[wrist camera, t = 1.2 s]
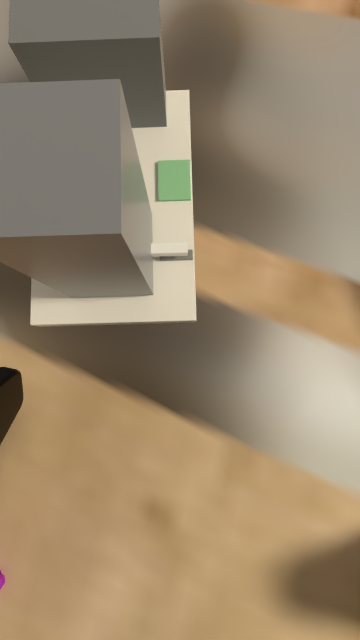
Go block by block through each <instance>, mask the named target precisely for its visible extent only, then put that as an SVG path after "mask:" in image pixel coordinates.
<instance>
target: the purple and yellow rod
mask: <svg viewBox="0 0 360 640" xmlns="http://www.w3.org/2000/svg"><path fill="white" fill-rule="evenodd" d="M4 583H5V578H4V575H3V574H2V573H1V570H0V589H1V588H2V586H3V585H4Z"/></svg>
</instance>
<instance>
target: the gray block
mask: <svg viewBox="0 0 360 640" xmlns="http://www.w3.org/2000/svg"><path fill="white" fill-rule="evenodd" d="M158 256H188V242H178V243H153V234H152V212H151V208H150V203H149V199H148V195H147V191H146V186H145V182H144V178H143V174H142V169H141V165H140V161H139V157H138V153H137V148H136V144H135V140H134V136H133V131H132V127H131V123H130V119H129V114H128V110H127V106H126V102H125V98H124V93H123V89H122V85H121V81H120V79H104V80H77V81H51V82H25V83H0V262H1V263H3V264H5V265H7V266H9V267H11V268H13V269H15V270H17V271H19V272H21V273H23V274H25V275H27V276H29V277H30V278H32V279H34V280H36V281H38V282H40V283H42V284H44V285H46V286H48V287H50V288H52V289H54V290H56V291H58V292H60V293H62V294H64V295H66V296H68V297H70V298H71V297H106V296H141V295H154V291H153V257H158Z"/></svg>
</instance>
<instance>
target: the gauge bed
mask: <svg viewBox="0 0 360 640" xmlns="http://www.w3.org/2000/svg"><path fill="white" fill-rule="evenodd" d="M9 12H10V13H9V41H8V43H9V45H10V47H11V49H12V50H13V52H14V54H15V56H16V57H17V59H18V61H19V63H20V65H21V66H22V68H23V70H24V72H25V73H26V75H27V77H28V79H29V80H30V82H51V81H77V80H104V79H120V81H121V85H122V89H123V93H124V98H125V102H126V106H127V110H128V114H129V119H130V123H131V127H132V131H133V136H134V140H135V144H136V148H137V153H138V157H139V161H140V165H141V169H142V174H143V178H144V182H145V186H146V191H147V195H148V199H149V203H150V208H151V212H152V234H153V243H178V242H188V256H158V257H153V291H154V295H141V296H106V297H71V298H70V297H68V296H66V295H64V294H62V293H60V292H58V291H56V290H54V289H52V288H50V287H48V286H46V285H44V284H42V283H40V282H38V281H36V280H34V279H32V278H31V318H30V325H33V326H38V327H41V326H42V327H43V326H44V327H45V326H79V325H80V326H81V325H113V324H114V325H117V324H150V323H151V324H153V323H187V322H196V294H195V262H194V231H193V199H192V171H191V170H192V169H191V168H192V167H191V139H190V138H191V136H190V104H189V90H178V91H177V90H176V91H166V86H165V73H164V59H163V46H162V32H161V19H160V6H159V0H10V11H9Z"/></svg>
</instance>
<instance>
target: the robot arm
mask: <svg viewBox="0 0 360 640" xmlns="http://www.w3.org/2000/svg"><path fill="white" fill-rule="evenodd" d="M22 402H23V387H22V377H21V373H20V371H18V370H16V369H12V368H7V367H0V445H1V443H2V441H3V439H4V437H5V435H6V433H7V432H8V430H9V428H10V426H11V424H12V422H13V420H14V419H15V417H16V415H17V413H18V411H19V409H20V407H21V405H22Z"/></svg>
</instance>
